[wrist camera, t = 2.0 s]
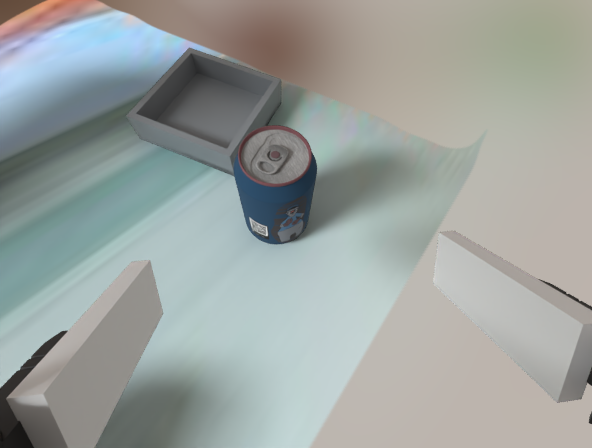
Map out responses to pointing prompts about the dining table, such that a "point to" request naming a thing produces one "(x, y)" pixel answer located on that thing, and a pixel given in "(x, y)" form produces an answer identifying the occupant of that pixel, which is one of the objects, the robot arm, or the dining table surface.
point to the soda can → (275, 182)
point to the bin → (206, 108)
